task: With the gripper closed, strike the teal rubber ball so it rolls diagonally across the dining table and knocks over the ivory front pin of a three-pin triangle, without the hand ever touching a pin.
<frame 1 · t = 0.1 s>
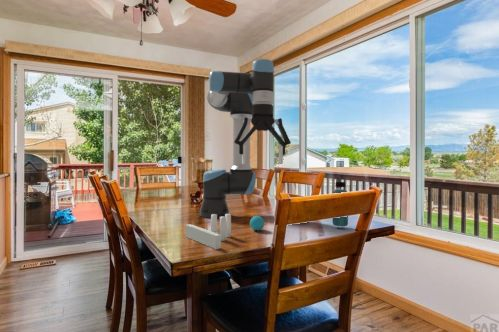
hand: (262, 164, 109), 28 cm above the table, tool pointing down, fingers open, 13 cm apart
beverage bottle: (339, 228, 130), on the table
ball: (257, 223, 125), on the table
back stop: (202, 242, 108), on the table
right back pin: (222, 240, 111), on the table
left back pin: (214, 237, 115), on the table
front pin: (227, 236, 116), on the table
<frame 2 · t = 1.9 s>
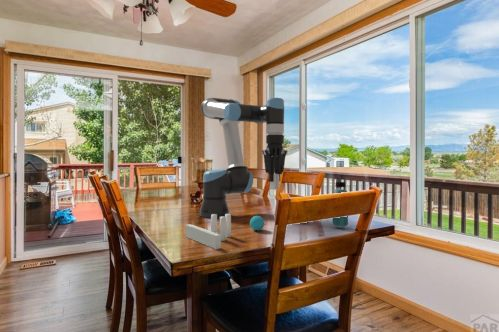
hand: (274, 189, 131), 16 cm above the table, tool pointing down, fingers closed
nothing on the table moved.
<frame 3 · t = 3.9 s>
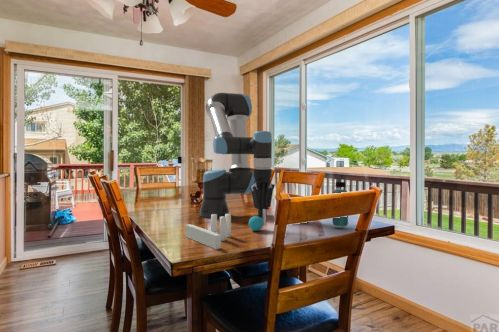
hand: (262, 224, 127), 2 cm above the table, tool pointing down, fingers closed
ball: (255, 223, 125), on the table, touching gripper
everything else where it was.
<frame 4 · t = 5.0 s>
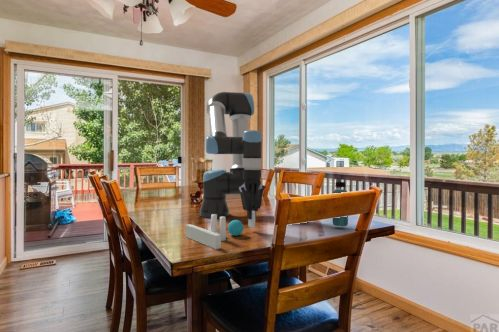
hand: (251, 226, 123), 2 cm above the table, tool pointing down, fingers closed
ball: (235, 227, 117), on the table
front pin: (225, 234, 115), point 1 cm above the table, tilted 90°
everything else where it was.
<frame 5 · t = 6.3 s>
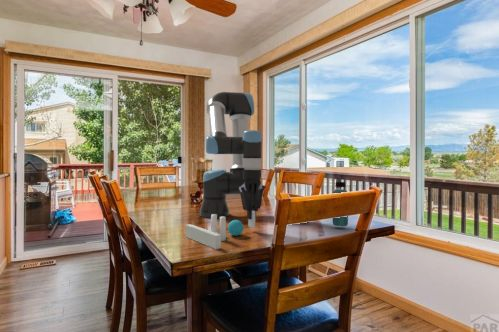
hand: (251, 226, 123), 2 cm above the table, tool pointing down, fingers closed
nothing on the table moved.
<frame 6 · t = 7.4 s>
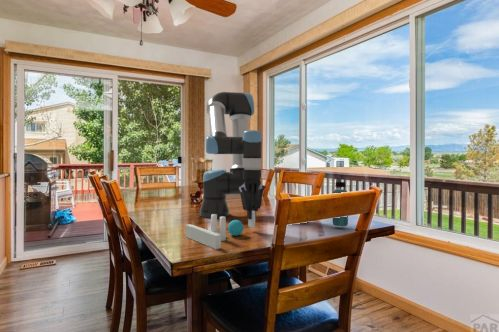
hand: (251, 226, 123), 2 cm above the table, tool pointing down, fingers closed
nothing on the table moved.
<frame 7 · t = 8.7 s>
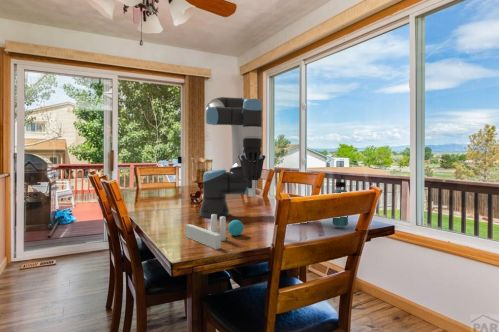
hand: (251, 196, 123), 14 cm above the table, tool pointing down, fingers closed
nothing on the table moved.
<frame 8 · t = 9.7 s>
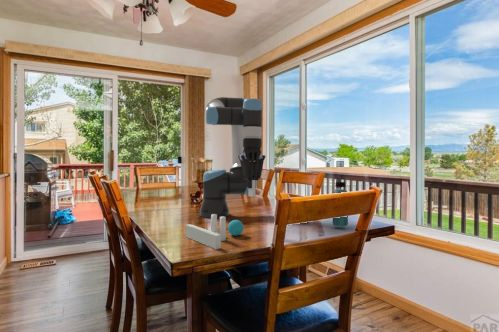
hand: (251, 196, 123), 14 cm above the table, tool pointing down, fingers closed
nothing on the table moved.
at the end: front pin tilted 90°; front pin never touched the robot; ball moved 11.8 cm from its start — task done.
